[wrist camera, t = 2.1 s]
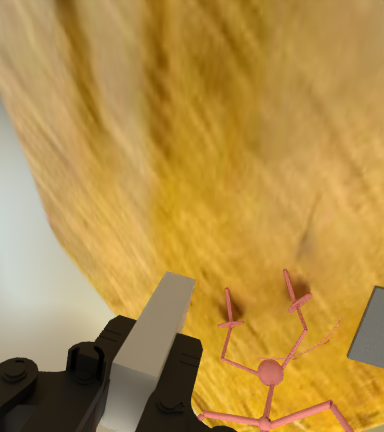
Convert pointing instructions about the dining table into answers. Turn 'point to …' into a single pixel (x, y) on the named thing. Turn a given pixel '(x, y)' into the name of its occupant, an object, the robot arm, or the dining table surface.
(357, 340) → the mat
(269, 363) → the figurine
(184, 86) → the dining table surface
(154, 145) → the dining table surface
